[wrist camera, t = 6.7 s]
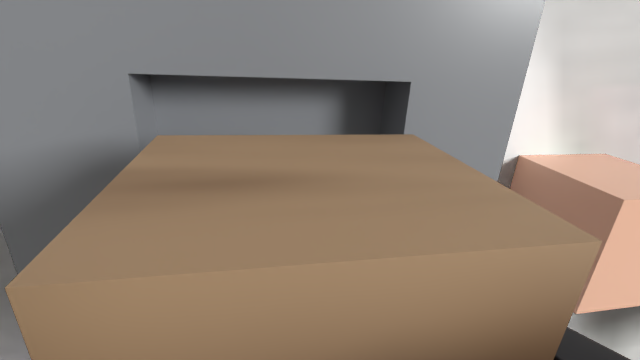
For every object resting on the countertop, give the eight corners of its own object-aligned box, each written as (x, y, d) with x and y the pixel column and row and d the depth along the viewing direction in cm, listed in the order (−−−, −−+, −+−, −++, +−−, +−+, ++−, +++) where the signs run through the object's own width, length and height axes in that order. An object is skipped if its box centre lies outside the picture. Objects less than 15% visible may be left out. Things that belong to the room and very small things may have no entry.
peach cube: (571, 238, 19) (673, 301, 14) (492, 244, 18) (575, 313, 13) (603, 153, 17) (732, 194, 12) (517, 154, 16) (624, 199, 11)
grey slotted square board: (422, 305, 18) (452, 351, 16) (97, 341, 15) (64, 407, 13) (492, -37, 12) (561, -59, 10) (-20, -93, 9) (-133, -148, 7)
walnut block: (385, 319, 11) (485, 523, 6) (185, 342, 10) (127, 615, 5) (412, 134, 8) (602, 241, 4) (157, 135, 7) (4, 286, 3)
